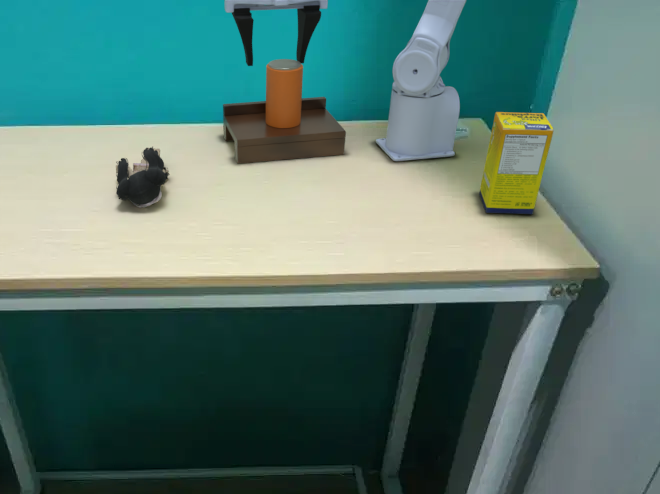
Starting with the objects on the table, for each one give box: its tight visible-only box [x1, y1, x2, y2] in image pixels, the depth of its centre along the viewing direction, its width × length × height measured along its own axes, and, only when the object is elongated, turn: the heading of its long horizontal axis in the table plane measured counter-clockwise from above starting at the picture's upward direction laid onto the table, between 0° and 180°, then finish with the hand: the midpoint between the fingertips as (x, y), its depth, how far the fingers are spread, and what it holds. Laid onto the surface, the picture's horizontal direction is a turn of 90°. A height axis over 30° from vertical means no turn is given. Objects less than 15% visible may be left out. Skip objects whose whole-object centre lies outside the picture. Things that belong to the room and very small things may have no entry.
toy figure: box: [115, 146, 170, 209], centre depth 97 cm, size 7×6×15 cm
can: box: [265, 58, 304, 128], centre depth 106 cm, size 5×5×8 cm
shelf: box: [222, 96, 347, 164], centre depth 109 cm, size 16×11×5 cm
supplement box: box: [478, 111, 555, 215], centre depth 91 cm, size 6×6×11 cm
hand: (274, 62), depth 109 cm, fingers open, 7 cm apart
